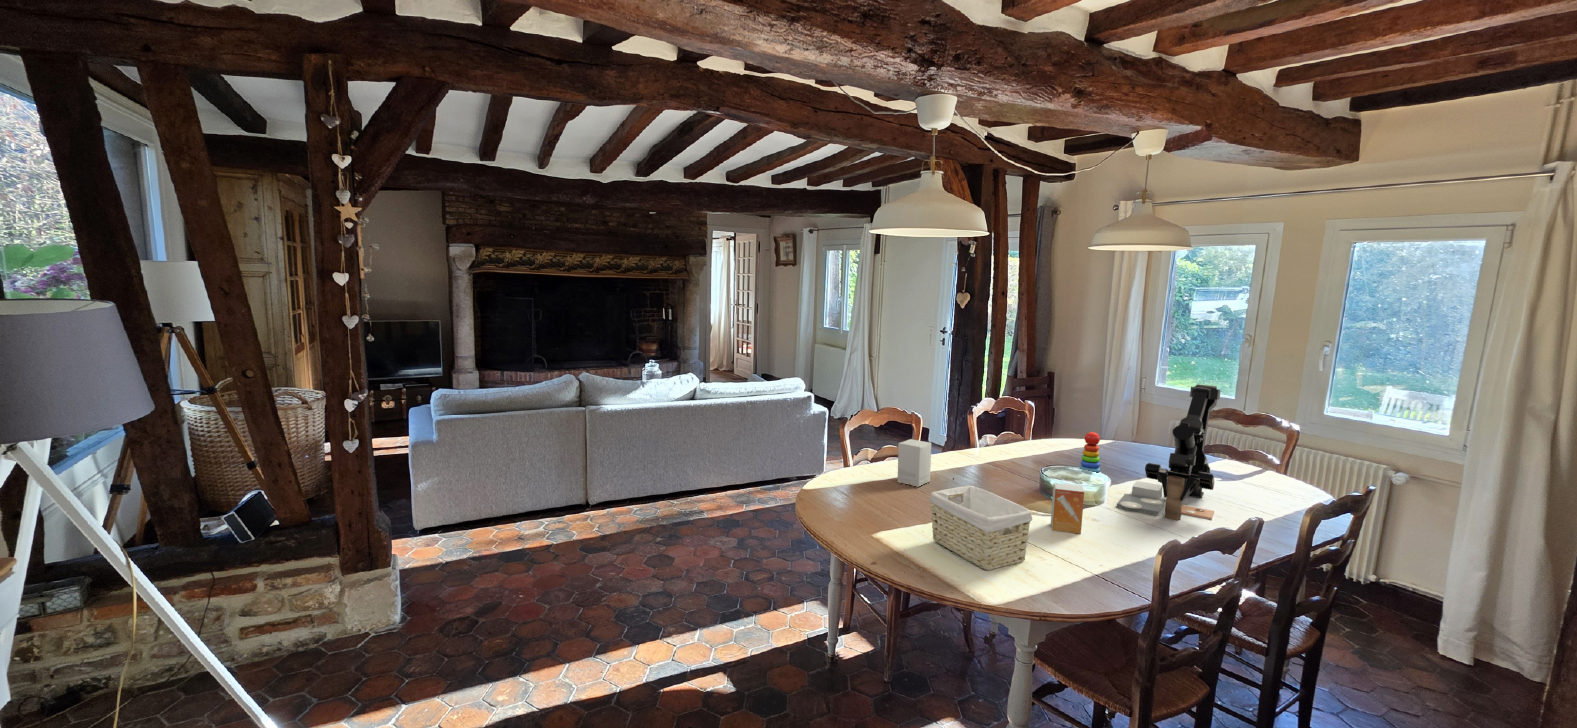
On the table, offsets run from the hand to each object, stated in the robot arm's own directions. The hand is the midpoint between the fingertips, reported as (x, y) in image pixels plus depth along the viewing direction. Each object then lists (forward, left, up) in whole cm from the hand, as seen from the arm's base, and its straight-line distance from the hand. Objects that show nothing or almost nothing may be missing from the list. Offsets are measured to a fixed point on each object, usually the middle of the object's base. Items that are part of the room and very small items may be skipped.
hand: (1173, 498), depth 207 cm
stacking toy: (-24, -30, -7) cm, 39 cm away
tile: (-11, +5, -7) cm, 14 cm away
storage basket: (+63, -38, -7) cm, 74 cm away
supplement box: (+18, -80, -7) cm, 82 cm away
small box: (+30, -24, -7) cm, 39 cm away
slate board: (-7, -10, -7) cm, 14 cm away
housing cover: (-19, -10, -7) cm, 22 cm away
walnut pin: (-1, 0, -7) cm, 7 cm away
